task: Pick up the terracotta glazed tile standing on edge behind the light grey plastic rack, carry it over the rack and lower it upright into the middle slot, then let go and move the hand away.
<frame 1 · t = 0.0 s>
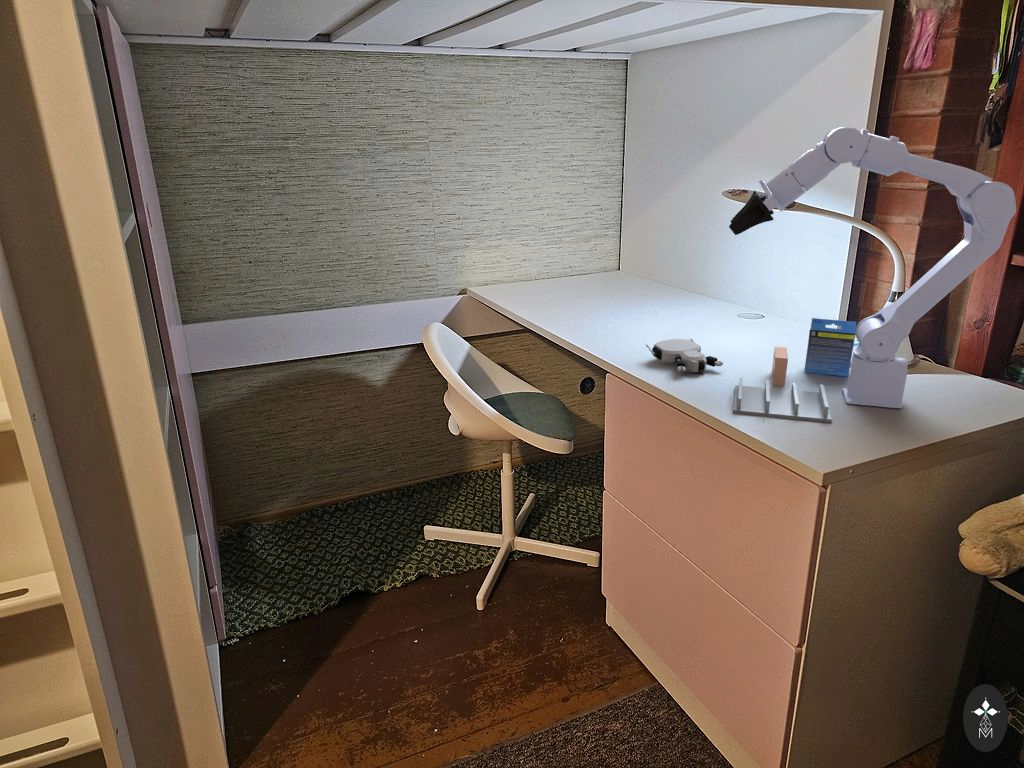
hand: (732, 228, 132), 32 cm above the table, tool tilted 50°, fingers open, 7 cm apart
tile: (777, 379, 146), on the table
robot toy: (683, 367, 156), on the table
rack: (780, 404, 133), on the table
label tape box: (826, 373, 150), on the table
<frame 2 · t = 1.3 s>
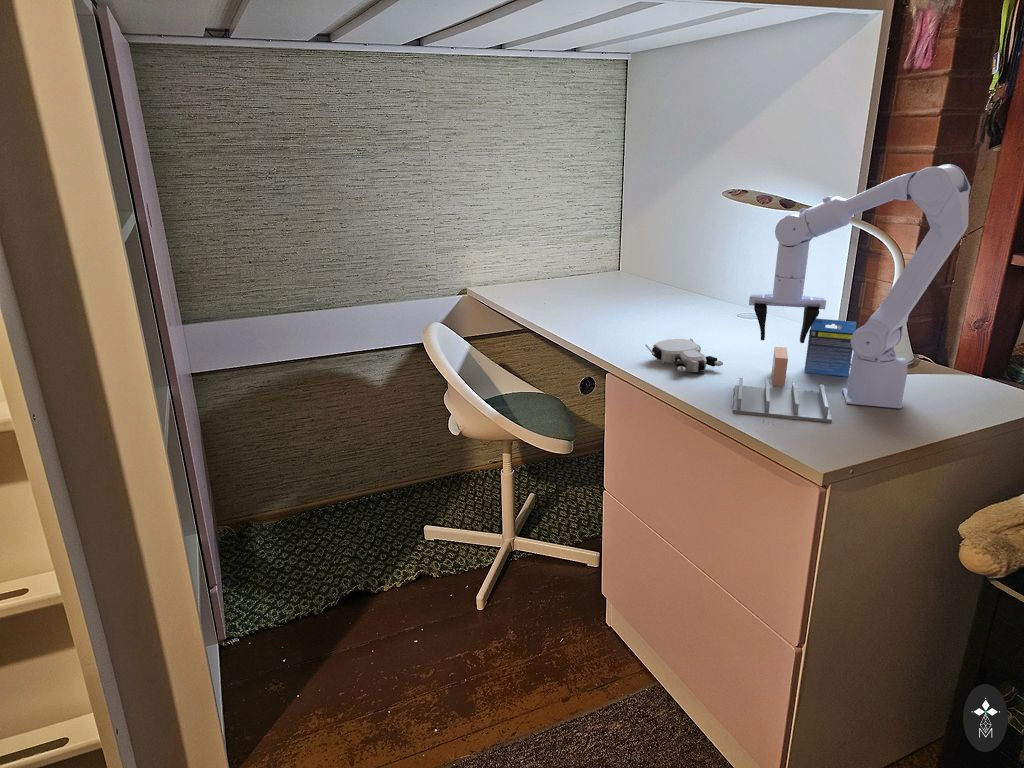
hand: (782, 340, 143), 8 cm above the table, tool pointing down, fingers open, 7 cm apart
nothing on the table moved.
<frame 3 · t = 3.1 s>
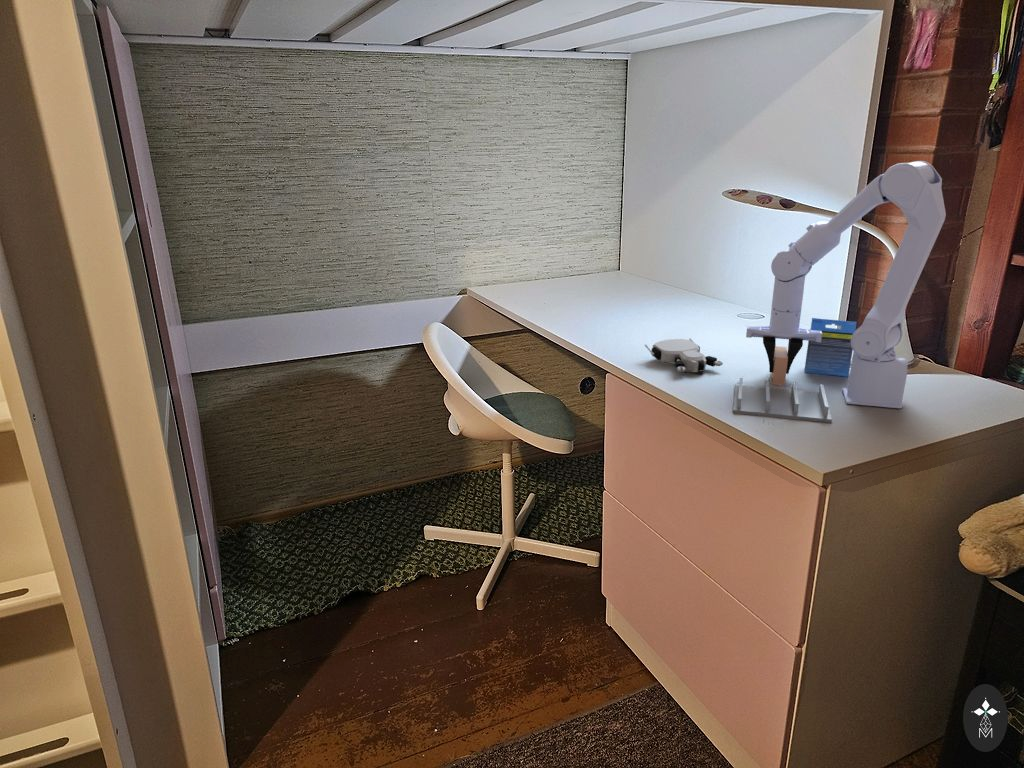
hand: (778, 371, 146), 2 cm above the table, tool pointing down, fingers closed on tile, 2 cm apart
tile: (777, 379, 146), on the table, touching gripper
everything else where it was.
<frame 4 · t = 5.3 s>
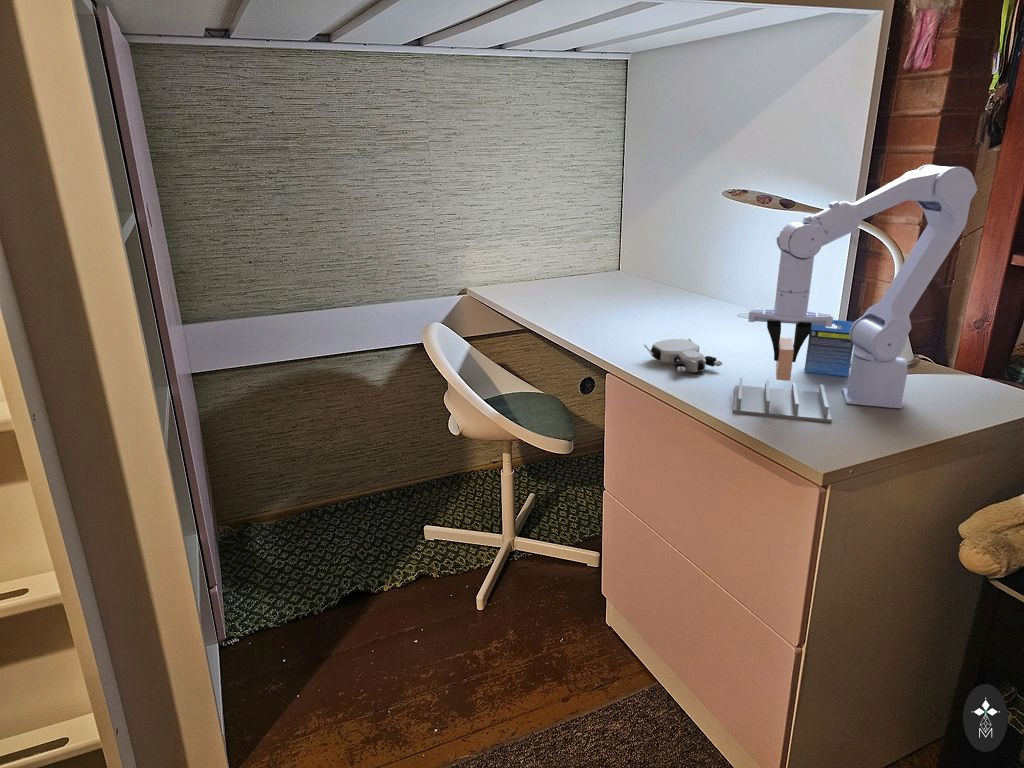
hand: (784, 360, 132), 8 cm above the table, tool pointing down, fingers closed on tile, 2 cm apart
tile: (782, 373, 133), point 6 cm above the table, touching gripper
everything else where it was.
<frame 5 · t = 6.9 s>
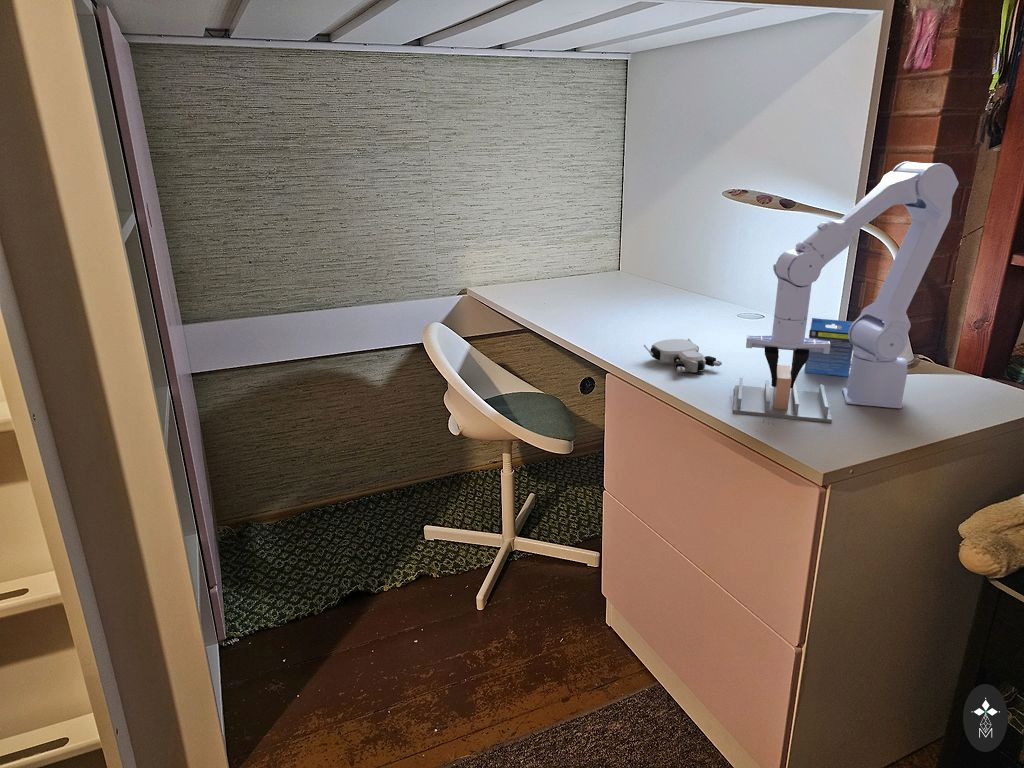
hand: (782, 385, 132), 4 cm above the table, tool pointing down, fingers closed on tile, 2 cm apart
tile: (780, 401, 133), point 1 cm above the table, touching gripper, rack
everything else where it was.
when the fingers open (3 cm above the table, at t = 7.7 s): tile stays where it is, resting on rack.
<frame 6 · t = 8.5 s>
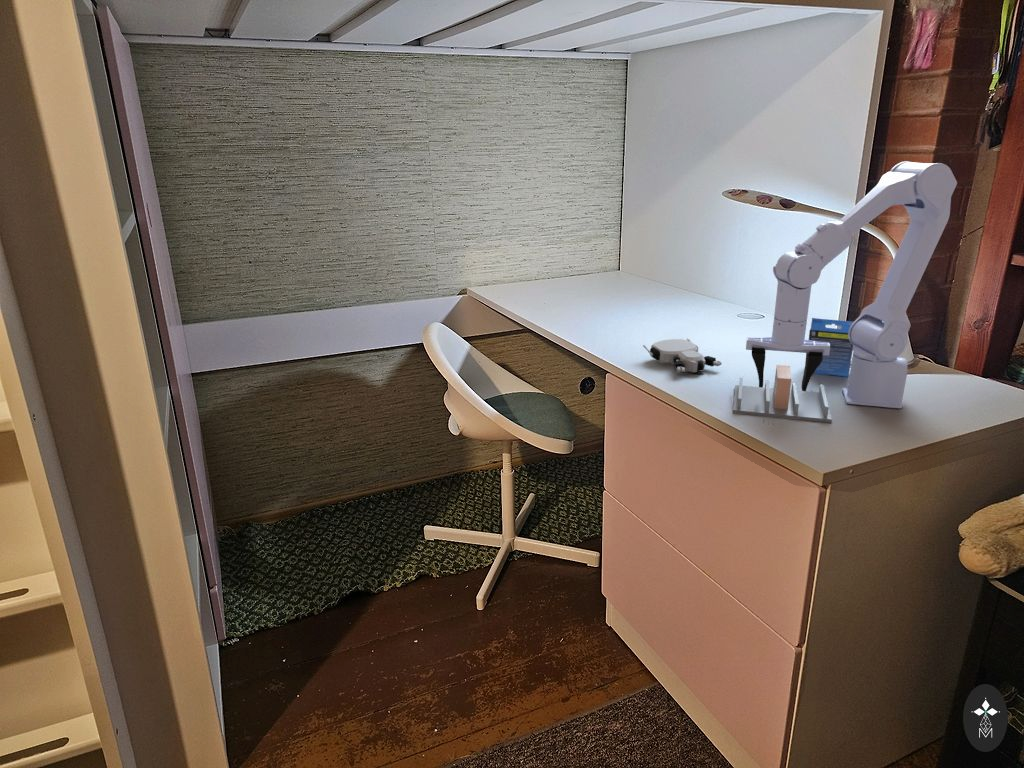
hand: (782, 387, 132), 3 cm above the table, tool pointing down, fingers open, 7 cm apart
tile: (780, 401, 133), point 1 cm above the table, touching rack
everything else where it was.
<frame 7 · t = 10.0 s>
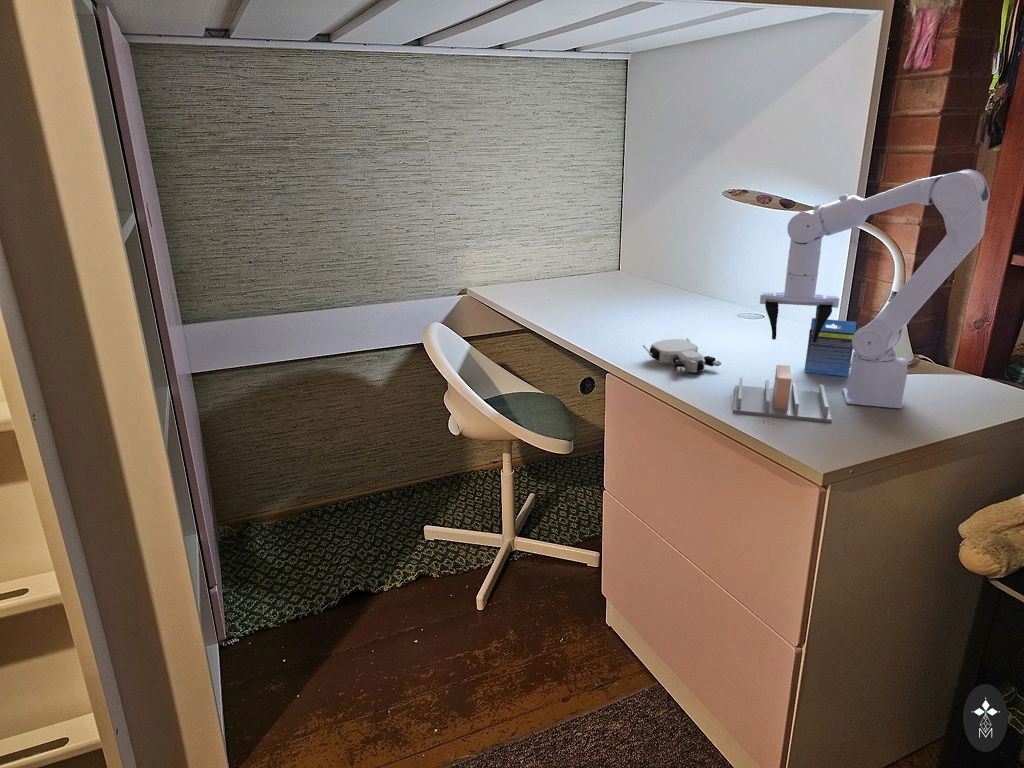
hand: (793, 339, 141), 9 cm above the table, tool pointing down, fingers open, 7 cm apart
nothing on the table moved.
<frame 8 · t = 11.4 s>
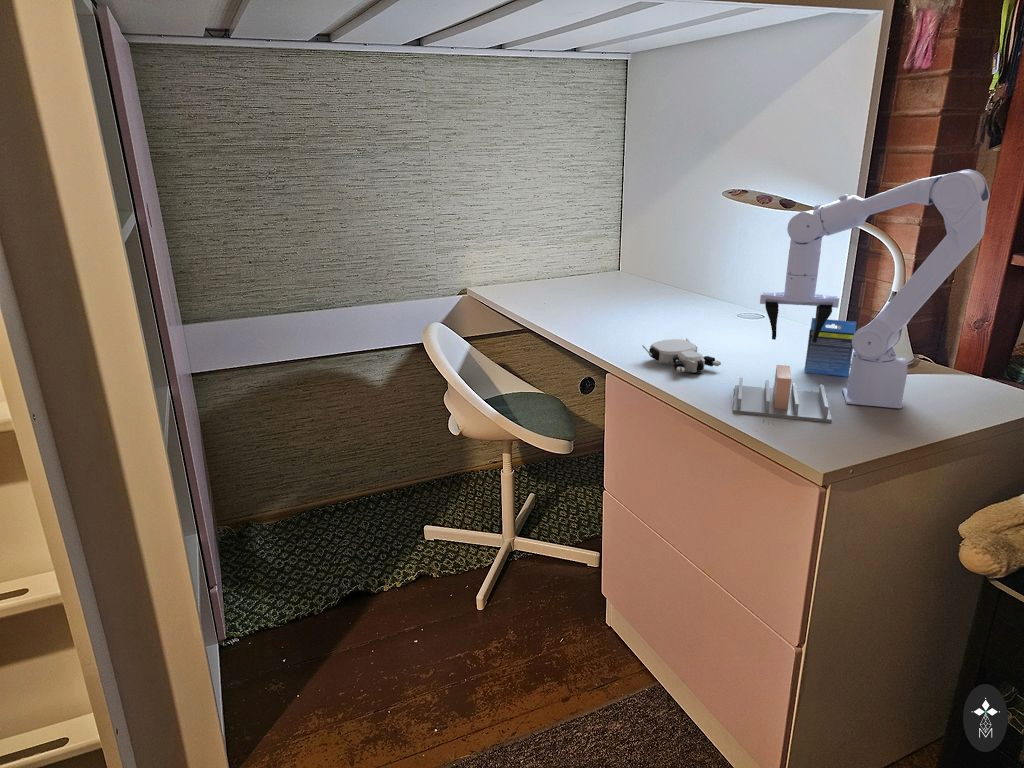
hand: (793, 339, 141), 9 cm above the table, tool pointing down, fingers open, 7 cm apart
nothing on the table moved.
at the end: tile 0.0 cm off-centre on the rack, point 0.6 cm above the rack's base; tile tilted 0°; the gripper is holding nothing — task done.
